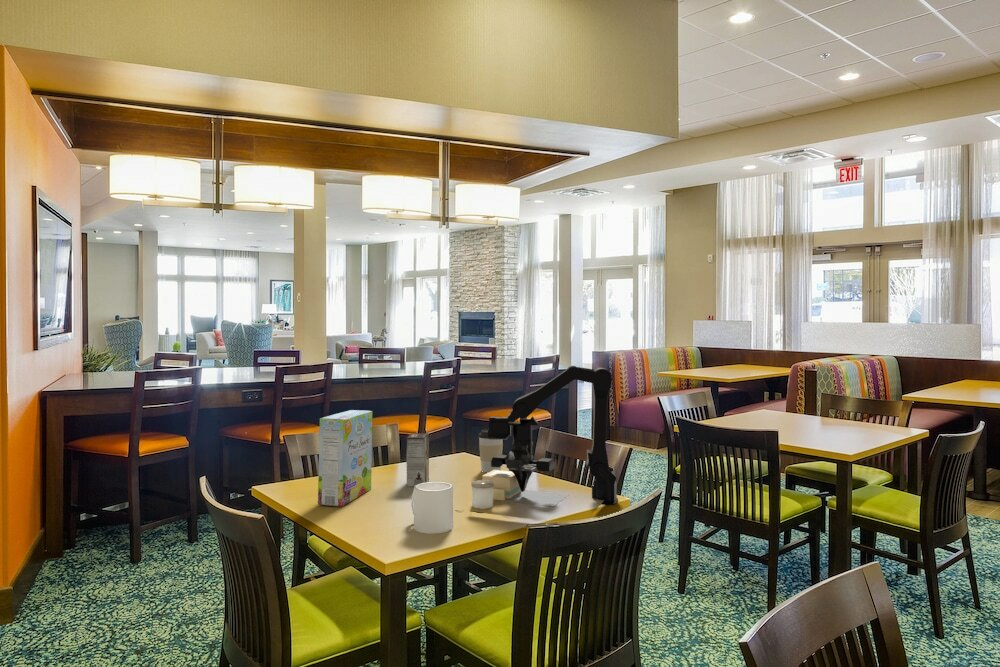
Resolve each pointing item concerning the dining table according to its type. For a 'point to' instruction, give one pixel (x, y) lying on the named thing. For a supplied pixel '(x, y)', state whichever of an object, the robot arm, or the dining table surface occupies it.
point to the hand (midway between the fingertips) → (522, 491)
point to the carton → (504, 482)
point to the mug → (433, 507)
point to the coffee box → (417, 458)
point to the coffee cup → (488, 451)
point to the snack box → (344, 457)
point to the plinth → (530, 497)
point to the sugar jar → (482, 494)
